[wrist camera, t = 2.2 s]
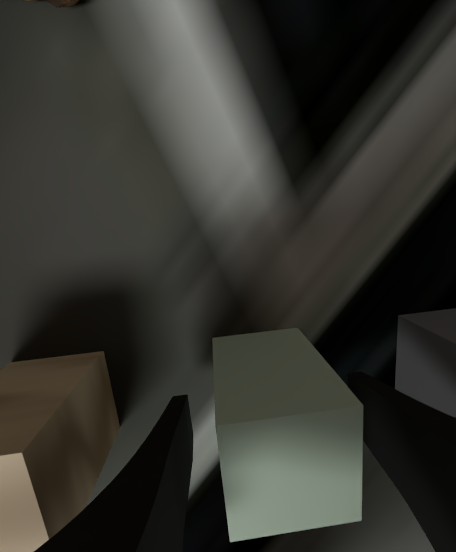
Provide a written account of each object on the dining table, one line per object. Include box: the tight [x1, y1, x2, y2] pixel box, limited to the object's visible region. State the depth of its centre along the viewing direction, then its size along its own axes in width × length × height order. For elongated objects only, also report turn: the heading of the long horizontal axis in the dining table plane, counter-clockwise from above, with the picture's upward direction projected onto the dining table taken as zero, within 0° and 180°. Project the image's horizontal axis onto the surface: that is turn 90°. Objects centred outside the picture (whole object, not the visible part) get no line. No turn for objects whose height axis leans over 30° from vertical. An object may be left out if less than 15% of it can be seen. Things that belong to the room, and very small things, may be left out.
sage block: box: [212, 328, 363, 542], centre depth 11 cm, size 4×4×6 cm
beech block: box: [0, 351, 120, 552], centre depth 11 cm, size 4×4×6 cm
